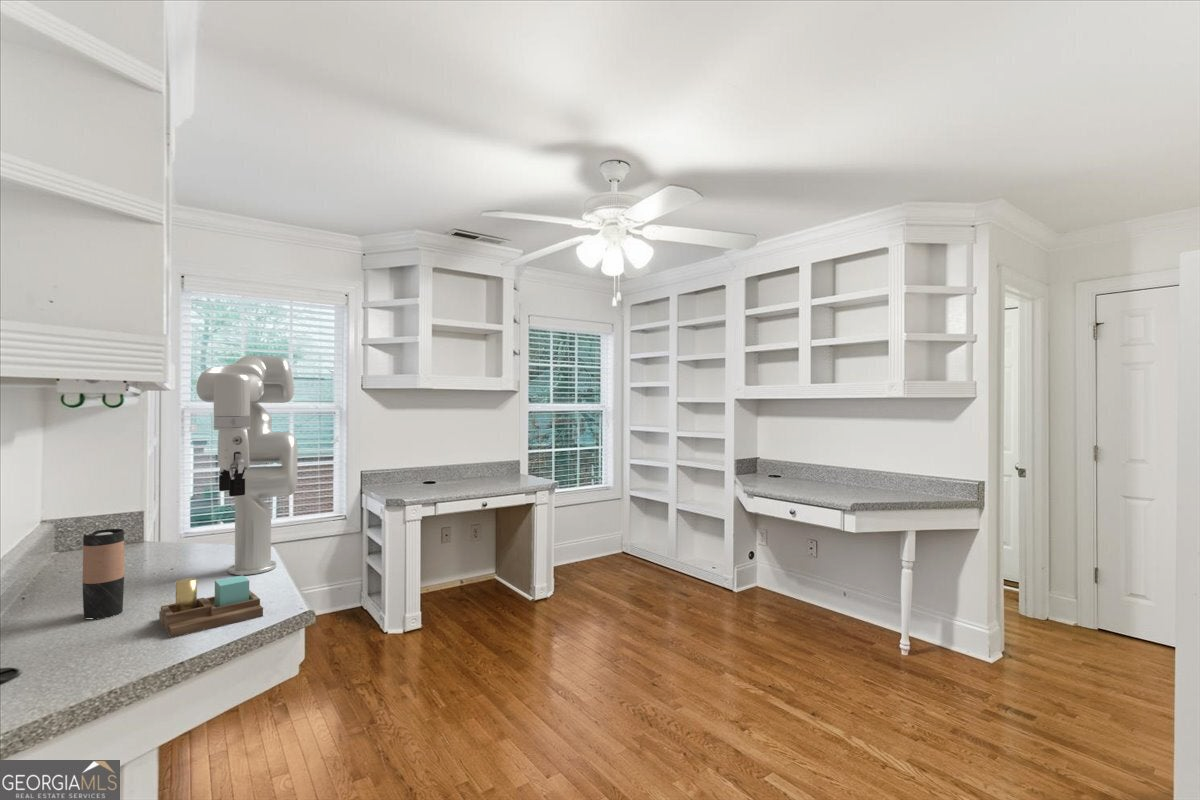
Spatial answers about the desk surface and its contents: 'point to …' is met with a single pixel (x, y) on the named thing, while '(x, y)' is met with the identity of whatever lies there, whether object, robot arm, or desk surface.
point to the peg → (186, 594)
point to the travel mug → (103, 573)
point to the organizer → (208, 615)
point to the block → (231, 590)
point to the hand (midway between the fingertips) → (231, 493)
